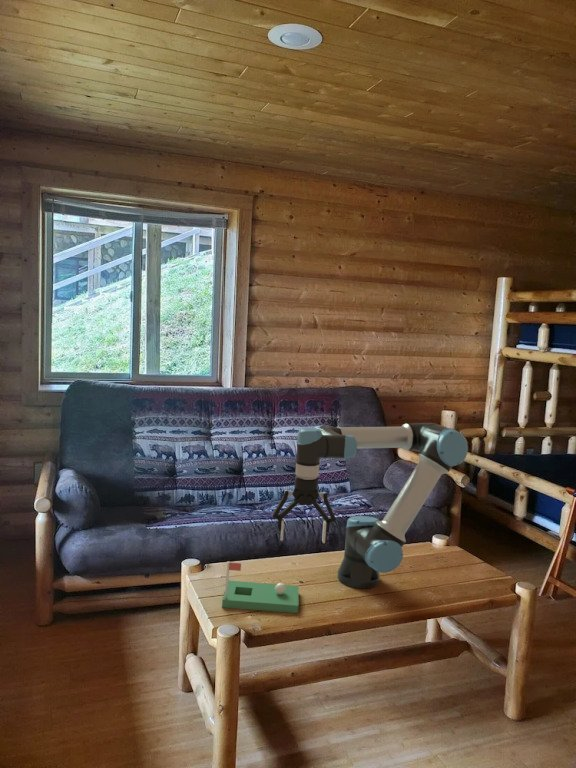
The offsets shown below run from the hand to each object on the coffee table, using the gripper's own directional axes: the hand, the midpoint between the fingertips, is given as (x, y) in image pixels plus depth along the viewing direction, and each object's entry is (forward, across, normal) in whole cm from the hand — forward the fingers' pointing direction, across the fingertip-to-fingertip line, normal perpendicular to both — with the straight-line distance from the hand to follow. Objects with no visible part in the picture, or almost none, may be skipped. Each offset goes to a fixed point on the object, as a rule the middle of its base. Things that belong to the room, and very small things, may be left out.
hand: (302, 540), depth 191 cm
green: (+21, +12, +1) cm, 24 cm away
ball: (+16, +6, +1) cm, 18 cm away
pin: (+18, +21, +6) cm, 29 cm away
